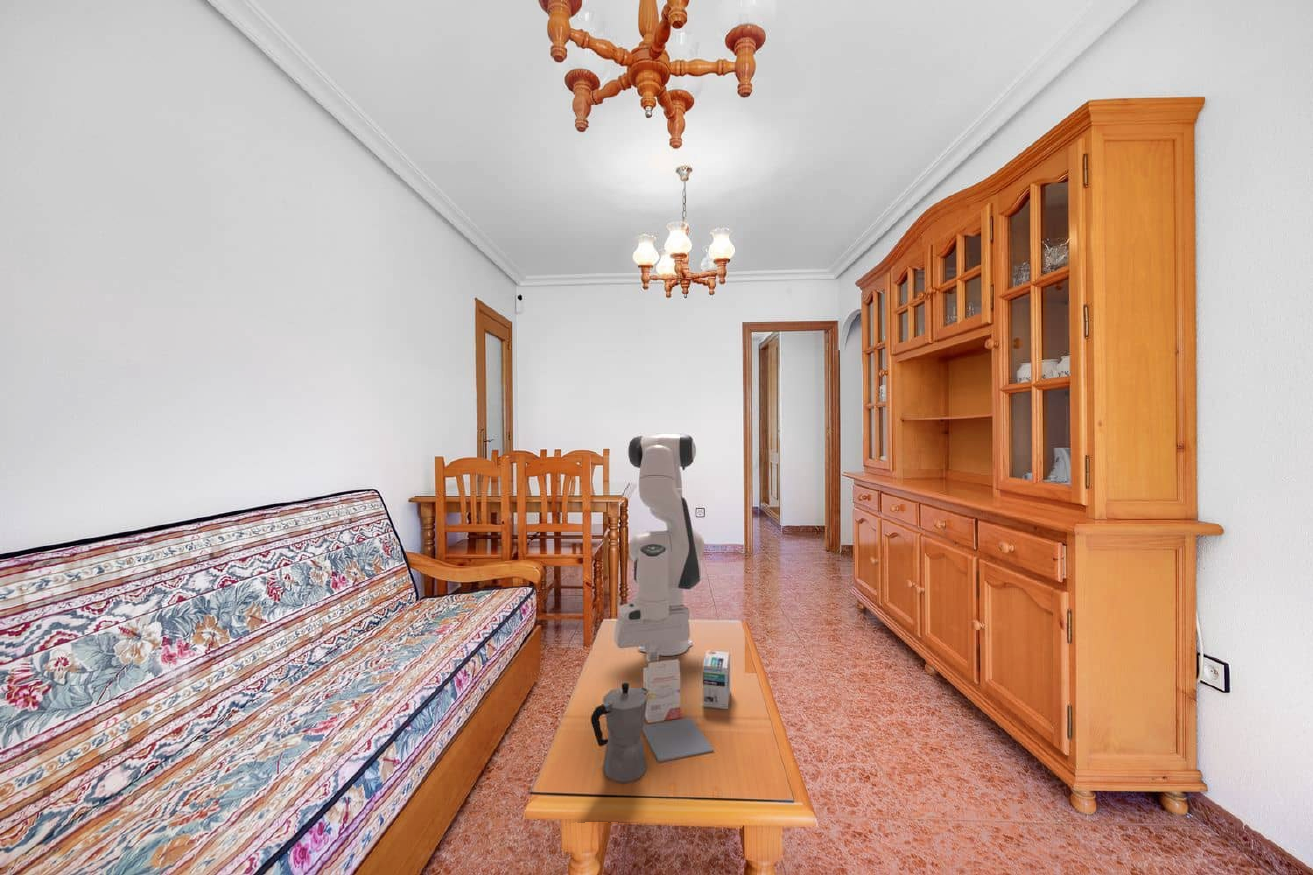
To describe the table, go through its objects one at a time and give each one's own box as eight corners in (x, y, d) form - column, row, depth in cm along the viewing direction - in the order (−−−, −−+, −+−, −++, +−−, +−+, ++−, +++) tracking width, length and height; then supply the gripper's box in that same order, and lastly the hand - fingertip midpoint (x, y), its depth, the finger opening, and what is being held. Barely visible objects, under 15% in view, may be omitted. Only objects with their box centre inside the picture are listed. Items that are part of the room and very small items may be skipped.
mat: (640, 727, 124) (640, 725, 124) (690, 718, 128) (690, 717, 128) (658, 762, 111) (658, 760, 111) (713, 751, 115) (713, 749, 115)
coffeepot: (633, 746, 116) (633, 666, 117) (662, 765, 110) (663, 681, 110) (577, 777, 106) (577, 689, 106) (605, 800, 99) (606, 706, 99)
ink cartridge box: (674, 708, 133) (675, 651, 133) (680, 718, 128) (681, 659, 128) (642, 713, 131) (642, 655, 131) (647, 723, 126) (648, 663, 126)
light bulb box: (727, 710, 133) (728, 668, 133) (701, 707, 134) (702, 665, 134) (730, 690, 143) (730, 651, 143) (706, 687, 144) (706, 649, 144)
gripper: (685, 600, 143) (685, 650, 143) (613, 607, 137) (612, 660, 136) (693, 607, 137) (693, 659, 137) (618, 614, 131) (618, 669, 130)
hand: (652, 660), depth 136 cm, fingers closed
